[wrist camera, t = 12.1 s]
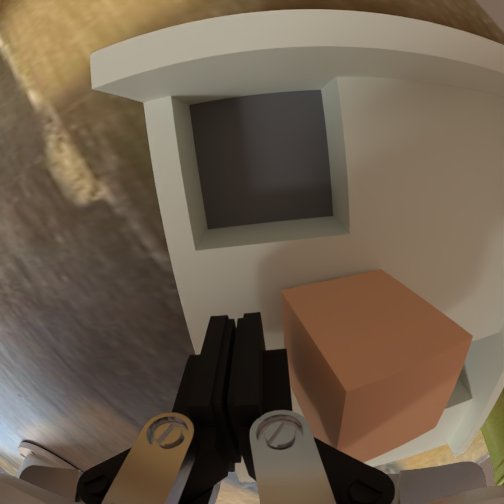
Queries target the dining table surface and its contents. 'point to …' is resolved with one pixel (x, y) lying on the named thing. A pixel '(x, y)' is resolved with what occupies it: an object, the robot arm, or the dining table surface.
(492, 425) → the plant pot
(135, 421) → the dining table surface
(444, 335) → the block
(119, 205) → the dining table surface
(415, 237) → the tray
